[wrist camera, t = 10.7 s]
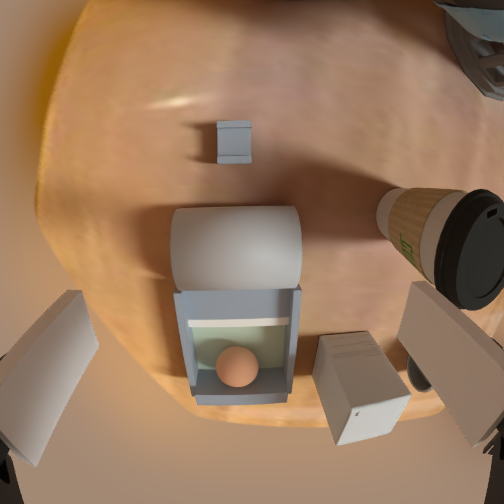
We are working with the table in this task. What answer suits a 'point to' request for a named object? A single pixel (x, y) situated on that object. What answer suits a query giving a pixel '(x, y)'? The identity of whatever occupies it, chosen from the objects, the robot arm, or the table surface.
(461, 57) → the lantern
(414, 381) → the ceramic mug
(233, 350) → the ball
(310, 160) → the table surface
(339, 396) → the supplement box
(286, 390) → the grey molded pieces
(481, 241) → the coffee cup
